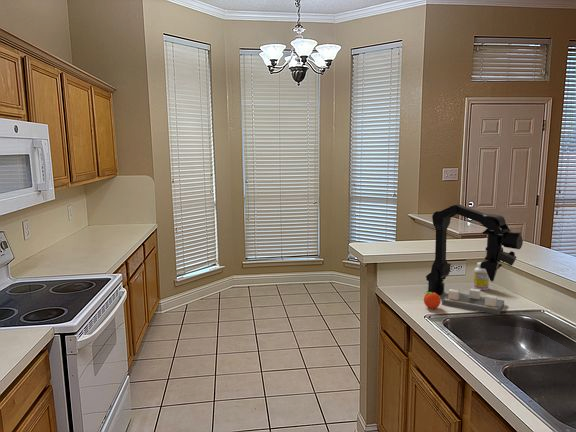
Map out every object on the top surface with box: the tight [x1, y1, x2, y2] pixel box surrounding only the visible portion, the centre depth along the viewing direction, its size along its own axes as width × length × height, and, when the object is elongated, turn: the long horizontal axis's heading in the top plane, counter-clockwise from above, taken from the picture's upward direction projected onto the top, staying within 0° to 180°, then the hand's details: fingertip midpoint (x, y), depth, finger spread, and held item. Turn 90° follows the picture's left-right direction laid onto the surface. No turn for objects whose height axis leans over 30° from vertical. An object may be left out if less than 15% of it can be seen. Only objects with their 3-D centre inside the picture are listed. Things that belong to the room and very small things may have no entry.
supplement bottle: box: [473, 261, 490, 291], centre depth 212 cm, size 7×7×13 cm
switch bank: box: [441, 292, 505, 316], centre depth 191 cm, size 23×14×2 cm, turn 56°
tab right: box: [484, 294, 498, 307], centre depth 184 cm, size 4×3×4 cm
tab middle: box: [468, 287, 482, 299], centre depth 193 cm, size 4×3×4 cm
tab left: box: [448, 288, 461, 300], centre depth 192 cm, size 4×3×4 cm
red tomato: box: [421, 291, 441, 310], centre depth 187 cm, size 8×7×7 cm
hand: (492, 280), depth 185 cm, fingers closed
